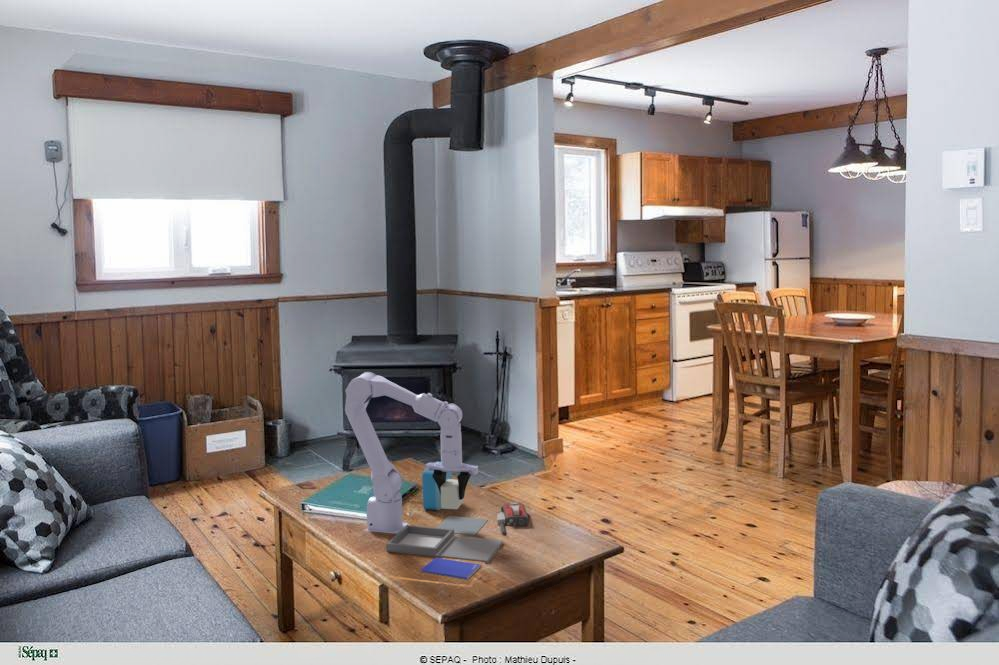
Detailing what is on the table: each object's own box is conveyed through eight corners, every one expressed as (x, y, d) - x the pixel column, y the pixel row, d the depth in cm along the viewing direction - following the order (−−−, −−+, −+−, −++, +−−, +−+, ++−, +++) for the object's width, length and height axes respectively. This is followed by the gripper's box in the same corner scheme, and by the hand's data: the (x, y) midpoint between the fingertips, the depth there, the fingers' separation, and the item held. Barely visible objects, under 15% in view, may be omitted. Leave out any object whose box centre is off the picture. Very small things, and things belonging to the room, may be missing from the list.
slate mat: (433, 533, 216) (433, 530, 216) (448, 517, 228) (448, 515, 228) (475, 537, 213) (475, 534, 213) (488, 521, 224) (488, 519, 224)
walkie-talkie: (494, 512, 232) (499, 538, 213) (494, 498, 232) (499, 522, 212) (524, 511, 233) (532, 536, 213) (524, 496, 233) (531, 521, 213)
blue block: (439, 497, 245) (438, 460, 244) (452, 499, 244) (451, 461, 243) (423, 510, 234) (421, 471, 233) (437, 512, 233) (435, 472, 231)
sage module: (441, 508, 214) (440, 487, 213) (448, 499, 220) (447, 479, 220) (457, 509, 213) (456, 487, 212) (463, 500, 220) (463, 479, 219)
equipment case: (386, 553, 203) (386, 543, 203) (407, 533, 216) (407, 524, 216) (487, 563, 195) (487, 553, 195) (502, 542, 208) (502, 533, 208)
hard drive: (481, 563, 193) (436, 556, 198) (466, 577, 185) (420, 569, 190) (481, 570, 193) (436, 562, 198) (467, 583, 186) (420, 575, 190)
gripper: (481, 447, 216) (482, 495, 218) (431, 444, 221) (433, 491, 222) (473, 454, 210) (474, 503, 211) (422, 450, 214) (423, 499, 216)
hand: (452, 497), depth 216 cm, fingers closed on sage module, 5 cm apart
